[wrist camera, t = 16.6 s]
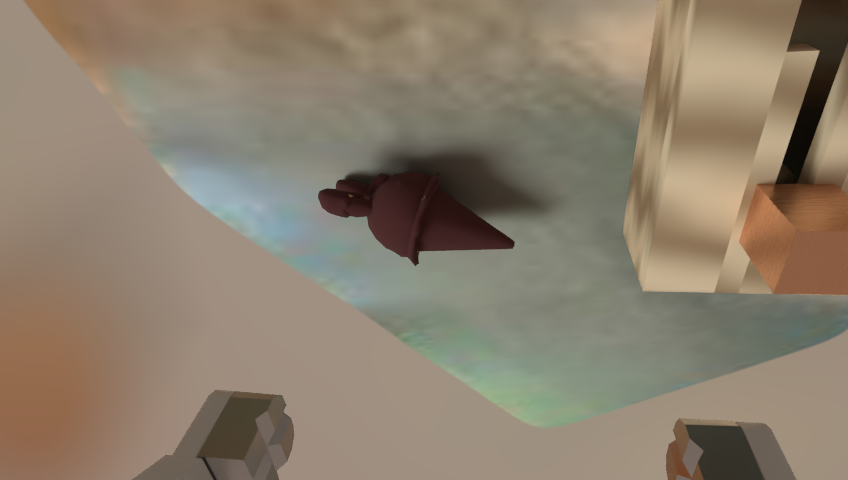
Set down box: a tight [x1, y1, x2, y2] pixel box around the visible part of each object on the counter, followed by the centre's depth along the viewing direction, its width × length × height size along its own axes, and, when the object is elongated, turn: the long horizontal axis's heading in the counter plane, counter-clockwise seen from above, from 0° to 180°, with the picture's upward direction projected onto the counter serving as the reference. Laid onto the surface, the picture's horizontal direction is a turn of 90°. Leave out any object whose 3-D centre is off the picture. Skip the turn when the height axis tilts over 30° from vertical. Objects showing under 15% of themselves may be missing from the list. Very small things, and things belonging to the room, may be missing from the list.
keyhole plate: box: [623, 0, 848, 295], centre depth 30 cm, size 24×14×8 cm, turn 5°
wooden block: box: [739, 163, 848, 295], centre depth 29 cm, size 4×4×9 cm
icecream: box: [318, 172, 514, 266], centre depth 39 cm, size 7×7×15 cm
